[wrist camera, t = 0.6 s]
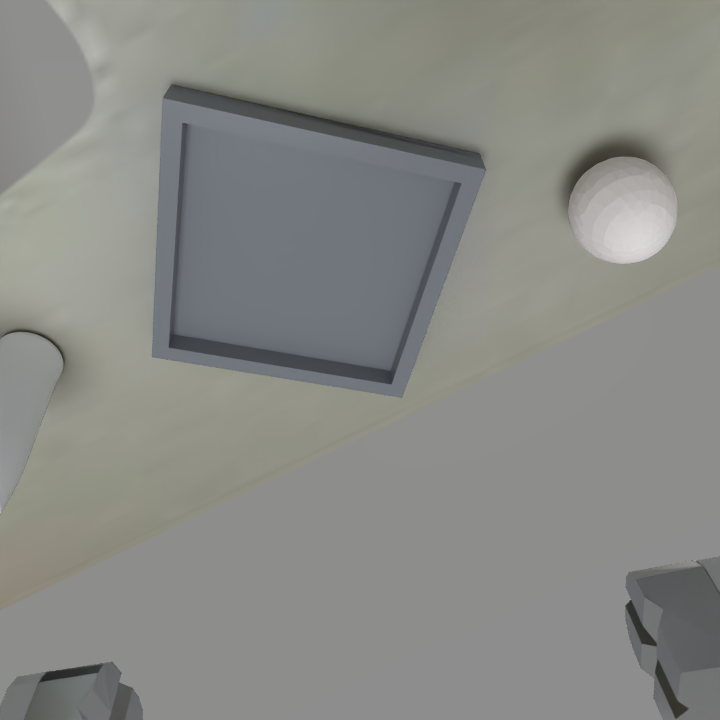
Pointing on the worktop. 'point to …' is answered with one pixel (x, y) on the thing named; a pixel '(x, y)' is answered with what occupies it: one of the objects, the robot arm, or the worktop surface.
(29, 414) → the drinking glass
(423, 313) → the tray
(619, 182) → the egg
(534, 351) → the worktop surface
